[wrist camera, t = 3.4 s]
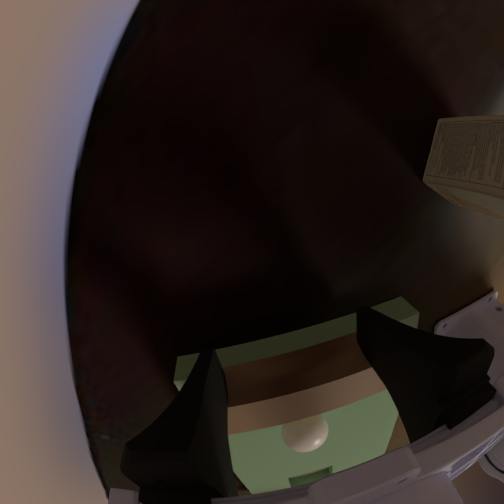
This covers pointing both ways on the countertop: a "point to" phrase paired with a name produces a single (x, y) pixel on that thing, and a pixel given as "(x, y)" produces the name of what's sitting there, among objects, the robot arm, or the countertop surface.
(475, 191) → the box
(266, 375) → the long wooden beam
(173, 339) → the countertop surface
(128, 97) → the countertop surface
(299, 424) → the ball
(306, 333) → the green
